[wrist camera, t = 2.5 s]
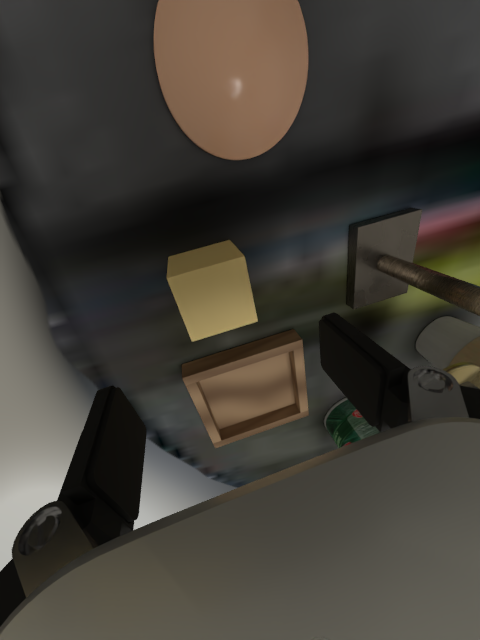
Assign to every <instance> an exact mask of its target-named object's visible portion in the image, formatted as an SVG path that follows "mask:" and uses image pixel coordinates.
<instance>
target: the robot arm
mask: <svg viewBox="0 0 480 640" xmlns="http://www.w3.org/2000/svg"><path fill="white" fill-rule="evenodd" d="M319 337H320V358H321V366H322V368H323V370H324V371H325V372H326V373H327V375H328V376H329V377H330V378H331V379H332V381H333V382H334V383H335V384H336V385H337V387H338V388H339V389H340V390H341V391H342V392H343V394H344V395H345V396H346V397H347V398H348V400H349V401H350V402H351V403H352V404H353V406H354V407H355V408H356V409H357V410H358V412H359V413H360V414H361V415H362V416H363V418H364V419H365V420H366V421H367V422H368V424H369V425H371V426H372V427H374V426H375V427H376V428H377V429H378V430H379V432H380V433H378V434H375V435H373V436H370V437H367V438H364V439H362V440H359V441H356V442H354V443H351V444H349V445H346V446H344V447H341V448H338V449H336V450H333V451H331V452H328V453H326V454H323V455H320V456H318V457H315V458H313V459H310V460H308V461H305V462H302V463H300V464H297V465H295V466H292V467H290V468H287V469H285V470H282V471H280V472H277V473H275V474H272V475H270V476H267V477H264V478H262V479H259V480H257V481H254V482H252V483H249V484H247V485H244V486H242V487H239V488H237V489H234V490H232V491H230V492H227V493H224V494H222V495H220V496H217V497H215V498H212V499H209V500H207V501H204V502H202V503H199V504H197V505H194V506H192V507H189V508H187V509H184V510H182V511H179V512H177V513H174V514H172V515H170V516H167V517H164V518H162V519H160V520H157V521H155V522H152V523H150V524H148V525H145V526H143V527H141V528H138V529H136V530H133V525H134V520H136V519H137V518H138V514H139V504H140V494H141V484H142V474H143V463H144V453H145V443H146V427H145V425H144V423H143V422H142V420H141V419H140V417H139V416H138V414H137V413H136V411H135V410H134V408H133V407H132V405H131V404H130V402H129V401H128V399H127V398H126V396H125V395H124V393H123V392H122V391H121V389H120V388H119V387H117V388H115V387H114V386H109V387H106V388H103V389H100V390H98V391H97V393H96V396H95V398H94V401H93V404H92V407H91V410H90V413H89V415H88V418H87V421H86V424H85V426H84V429H83V431H82V433H81V436H80V439H79V441H78V444H77V447H76V450H75V453H74V455H73V458H72V461H71V464H70V467H69V469H68V472H67V475H66V478H65V480H64V483H63V486H62V489H61V492H60V494H59V497H58V500H57V501H54V502H51V503H48V504H46V505H45V506H43V507H42V508H40V509H39V510H38V511H36V512H35V513H34V514H33V515H32V516H31V517H30V518H29V519H28V520H27V521H26V522H25V524H24V525H23V527H22V528H21V530H20V531H19V533H18V535H17V537H16V539H15V541H14V544H13V548H12V558H13V559H12V560H11V561H10V562H9V563H8V564H7V565H6V566H5V567H4V568H3V569H2V570H1V572H0V640H480V389H476V388H471V387H466V386H461V385H459V383H458V382H457V380H456V379H455V378H454V377H453V376H452V375H451V374H449V373H448V372H446V371H444V370H441V369H439V368H435V367H431V366H419V367H415V368H413V369H409V368H408V367H407V366H405V365H404V364H403V363H401V362H400V361H399V360H397V359H396V358H395V357H393V356H392V355H391V354H390V353H388V352H387V351H386V350H384V349H383V348H382V347H380V346H379V345H378V344H376V343H375V342H374V341H372V340H371V339H370V338H369V337H367V336H366V335H364V334H363V333H361V332H360V331H359V330H357V329H356V328H355V327H354V326H352V325H351V324H350V323H348V322H347V321H346V320H344V319H343V318H342V317H340V316H339V315H338V314H336V313H331V314H328V315H325V316H323V317H322V319H321V320H320V321H319Z"/></svg>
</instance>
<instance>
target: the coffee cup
mask: <svg viewBox="0 0 480 640" xmlns="http://www.w3.org/2000/svg"><path fill="white" fill-rule="evenodd" d="M416 350H417V351H418V352H419V353H420V354H421V355H422V356H423V357H424V358H426V359H427V360H428V361H429V362H430V363H431V364H432V365H434V366H435V367H436V368H439V369H441V370H443V369H444V368H446V367H449V366H451V365H453V364H457V363H461V362H470V363H473V364H475V365H476V366H478V367H480V327H477V326H474V325H472V324H469V323H466V322H464V321H461V320H459V319H456V318H453V317H450V316H444V317H440V318H438V319H436V320H434V321H433V322H431V323H430V324H429V325H428V326H427V327H426V328H425V329H424V330H423V331H422V332H421V334H420V335H419V337H418V339H417V341H416Z"/></svg>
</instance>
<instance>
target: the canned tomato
mask: <svg viewBox="0 0 480 640" xmlns="http://www.w3.org/2000/svg"><path fill="white" fill-rule="evenodd" d="M324 425H325V427H326V429H327V430H328V431H329V433H330V435H331V436H332V438H333V439H334V441H335V443H336V444H337V446H338V448H341V447H344V446H346V445H349V444H351V443H354V442H356V441H359V440H362V439H364V438H367V437H370V436H373V435H375V434H378V433H380V432H379V430H378V429H377V428H376V427H375V426H374V427H372V426H371V425H369V424H368V422H367V421H366V420H365V419H364V418H363V416H362V415H361V414H360V413H359V412H358V410H357V409H356V408H355V407H354V406H353V404H352V403H351V402H350V401H349V400H348V398H347V397H346V398H344V399H342V400H340V401H338V402H337V403H336V404H335V405H333V406H332V407H331V408H330V410H329V411H328V412H327V414H326V416H325V419H324Z"/></svg>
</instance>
